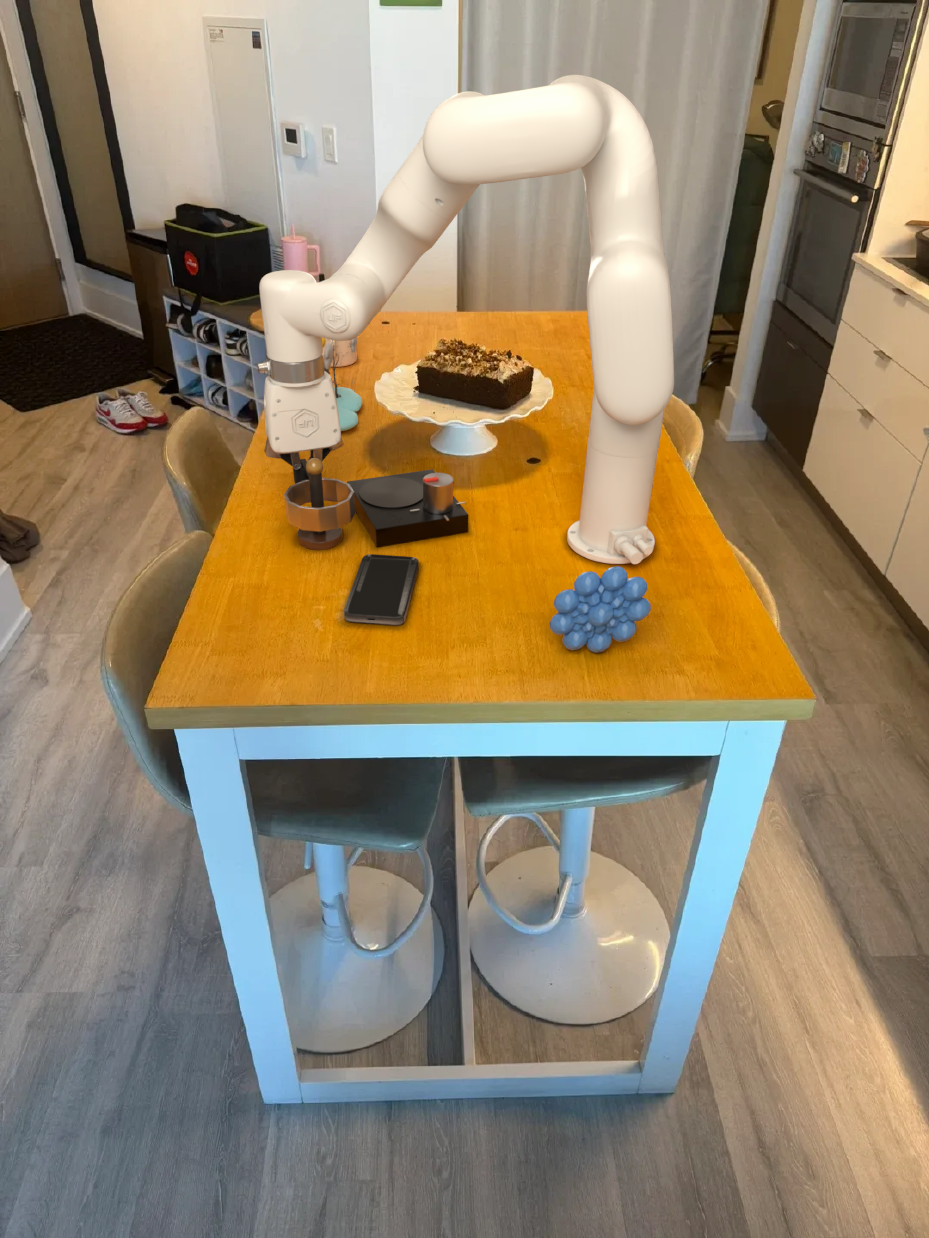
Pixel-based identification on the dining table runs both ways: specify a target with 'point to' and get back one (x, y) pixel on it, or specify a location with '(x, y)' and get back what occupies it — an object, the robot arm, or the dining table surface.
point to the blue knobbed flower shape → (600, 609)
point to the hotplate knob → (438, 493)
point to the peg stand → (316, 538)
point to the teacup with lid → (342, 352)
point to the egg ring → (320, 516)
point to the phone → (382, 590)
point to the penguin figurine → (343, 390)
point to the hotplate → (407, 517)
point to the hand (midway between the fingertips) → (308, 488)
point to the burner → (391, 492)
